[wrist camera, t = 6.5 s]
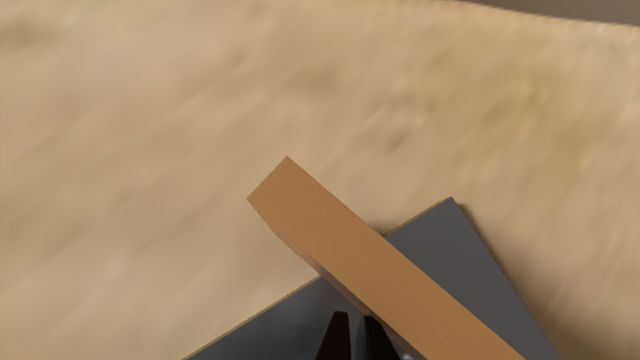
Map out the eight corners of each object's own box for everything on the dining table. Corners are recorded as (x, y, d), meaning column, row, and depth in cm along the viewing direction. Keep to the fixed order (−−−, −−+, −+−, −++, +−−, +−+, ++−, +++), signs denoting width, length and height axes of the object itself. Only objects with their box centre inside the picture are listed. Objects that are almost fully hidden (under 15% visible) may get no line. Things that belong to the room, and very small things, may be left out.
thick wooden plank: (530, 375, 14) (886, 550, 6) (476, 467, 13) (810, 849, 5) (314, 190, 16) (336, 103, 7) (251, 261, 15) (186, 261, 6)
